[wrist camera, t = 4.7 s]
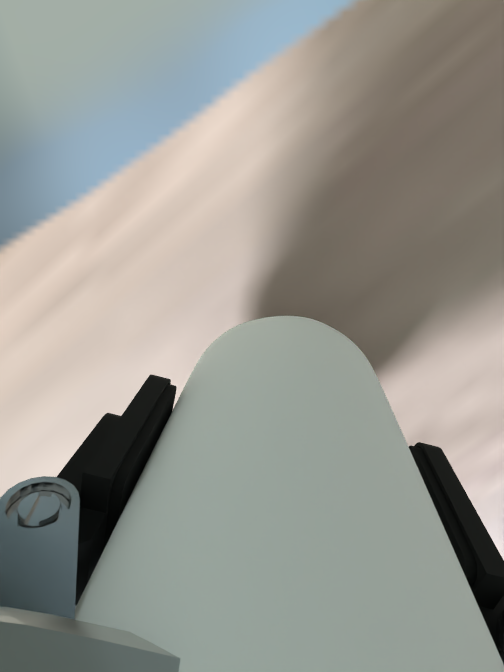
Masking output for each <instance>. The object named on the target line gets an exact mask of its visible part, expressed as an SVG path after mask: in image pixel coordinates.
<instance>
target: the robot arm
mask: <svg viewBox="0 0 504 672" xmlns="http://www.w3.org/2000/svg"><path fill="white" fill-rule="evenodd" d="M170 382H171V380H170V379H167V378H163V377H159V376H155V375H150V376H149V377H148V379H147V380H146V381H145V383H144V384H143V386H142V387H141V389H140V390H139V392H138V393H137V394H136V396H135V397H134V399H133V400H132V402H131V403H130V404H129V406H128V407H127V409H126V410H125V412H124V413H123V415H122V416H118V415H114V414H111V413H107V414H105V415H104V416H103V417H102V419H101V420H100V421H99V423H98V424H97V425H96V427H95V428H94V429H93V430H92V432H91V433H90V434H89V436H88V437H87V438H86V440H85V441H84V442H83V443H82V445H81V446H80V447H79V449H78V450H77V451H76V453H75V454H74V455H73V456H72V458H71V459H70V460H69V462H68V463H67V464H66V466H65V467H64V468H63V469H62V471H61V472H60V473H59V475H58V476H57V477H45V476H43V477H37V478H31V479H28V480H25V481H23V482H20V483H18V484H16V485H15V486H13V487H12V488H10V489H9V490H8V491H7V492H6V493H5V494H4V495H3V496H2V497H1V498H0V672H179V665H180V658H179V657H177V656H175V655H173V654H171V653H169V652H168V651H166V650H164V649H162V648H160V647H158V646H156V645H155V644H153V643H151V642H149V641H147V640H145V639H143V638H141V637H139V636H137V635H135V634H133V633H131V632H129V631H124V630H120V629H115V628H111V627H106V626H102V625H97V624H92V623H88V622H83V621H79V620H75V606H76V605H77V604H78V602H79V600H80V598H81V596H82V594H83V592H84V590H85V587H86V585H87V583H88V581H89V579H90V577H91V575H92V573H93V571H94V569H95V567H96V565H97V563H98V561H99V559H100V557H101V555H102V553H103V551H104V549H105V547H106V545H107V543H108V541H109V539H110V536H111V534H112V532H113V530H114V528H115V526H116V524H117V522H118V520H119V518H120V516H121V514H122V512H123V510H124V508H125V506H126V504H127V502H128V500H129V498H130V496H131V494H132V492H133V490H134V488H135V486H136V484H137V482H138V480H139V478H140V476H141V474H142V472H143V469H144V467H145V465H146V463H147V461H148V459H149V457H150V455H151V453H152V451H153V449H154V447H155V445H156V443H157V441H158V439H159V437H160V435H161V433H162V431H163V429H164V427H165V425H166V423H167V421H168V419H169V417H170V415H171V413H172V409H173V404H174V399H175V394H176V386H173V385H170ZM409 449H410V451H411V454H412V456H413V458H414V461H415V463H416V465H417V467H418V470H419V472H420V474H421V476H422V479H423V481H424V483H425V485H426V488H427V490H428V492H429V495H430V497H431V499H432V501H433V504H434V506H435V508H436V511H437V513H438V515H439V517H440V520H441V522H442V524H443V526H444V529H445V531H446V533H447V536H448V538H449V540H450V542H451V545H452V547H453V549H454V552H455V554H456V556H457V558H458V561H459V563H460V565H461V568H462V570H463V572H464V574H465V577H466V579H467V581H468V584H469V586H470V588H471V591H472V593H473V595H474V597H475V600H476V602H477V604H478V607H479V609H480V611H481V613H482V616H483V618H484V620H485V623H486V625H487V627H488V630H489V632H490V634H491V636H492V639H493V641H494V643H495V646H496V648H497V650H498V652H499V655H500V657H501V659H502V662H503V664H504V560H503V559H502V557H501V555H500V553H499V552H498V550H497V548H496V546H495V544H494V543H493V541H492V539H491V537H490V535H489V534H488V532H487V530H486V528H485V526H484V525H483V523H482V521H481V519H480V517H479V516H478V514H477V512H476V510H475V508H474V507H473V505H472V503H471V501H470V499H469V498H468V496H467V494H466V492H465V490H464V489H463V487H462V485H461V483H460V481H459V480H458V478H457V476H456V474H455V472H454V471H453V469H452V467H451V465H450V463H449V462H448V460H447V458H446V456H445V454H444V453H443V451H442V449H441V448H439V447H436V446H432V445H428V444H424V443H420V442H419V443H417V444H416V445H415V446H409Z"/></svg>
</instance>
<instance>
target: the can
mask: <svg viewBox="0 0 504 672" xmlns="http://www.w3.org/2000/svg"><path fill="white" fill-rule="evenodd" d="M75 620H79V621H83V622H88V623H92V624H97V625H102V626H106V627H111V628H115V629H120V630H124V631H129V632H131V633H133V634H135V635H137V636H139V637H141V638H143V639H145V640H147V641H149V642H151V643H153V644H155V645H156V646H158V647H160V648H162V649H164V650H166V651H168V652H169V653H171V654H173V655H175V656H177V657H179V658H180V665H179V672H504V664H503V662H502V659H501V657H500V655H499V652H498V650H497V648H496V646H495V643H494V641H493V639H492V636H491V634H490V632H489V630H488V627H487V625H486V623H485V620H484V618H483V616H482V613H481V611H480V609H479V607H478V604H477V602H476V600H475V597H474V595H473V593H472V591H471V588H470V586H469V584H468V581H467V579H466V577H465V574H464V572H463V570H462V568H461V565H460V563H459V561H458V558H457V556H456V554H455V552H454V549H453V547H452V545H451V542H450V540H449V538H448V536H447V533H446V531H445V529H444V526H443V524H442V522H441V520H440V517H439V515H438V513H437V511H436V508H435V506H434V504H433V501H432V499H431V497H430V495H429V492H428V490H427V488H426V485H425V483H424V481H423V479H422V476H421V474H420V472H419V470H418V467H417V465H416V463H415V461H414V458H413V456H412V454H411V451H410V449H409V447H408V445H407V442H406V440H405V438H404V436H403V433H402V431H401V429H400V427H399V424H398V422H397V420H396V418H395V415H394V413H393V411H392V409H391V406H390V404H389V402H388V400H387V398H386V395H385V393H384V391H383V389H382V387H381V384H380V382H379V380H378V378H377V376H376V374H375V372H374V370H373V368H372V366H371V364H370V363H369V361H368V359H367V358H366V356H365V355H364V354H363V352H362V351H361V350H360V349H359V348H358V347H357V346H356V345H355V344H354V343H353V342H352V341H351V340H350V339H349V338H347V337H346V336H345V335H343V334H342V333H340V332H339V331H337V330H336V329H334V328H332V327H330V326H328V325H326V324H324V323H322V322H319V321H317V320H314V319H310V318H306V317H300V316H273V317H266V318H260V319H256V320H252V321H248V322H245V323H243V324H240V325H238V326H236V327H234V328H232V329H230V330H228V331H227V332H225V333H224V334H222V335H221V336H220V337H219V338H217V339H216V340H215V341H214V342H213V343H212V344H211V345H210V346H209V347H208V348H207V349H206V351H205V352H204V353H203V355H202V356H201V358H200V359H199V361H198V363H197V364H196V366H195V368H194V370H193V372H192V373H191V375H190V377H189V379H188V381H187V383H186V385H185V387H184V389H183V391H182V393H181V395H180V397H179V399H178V401H177V403H176V405H175V407H174V409H173V411H172V413H171V415H170V417H169V419H168V421H167V423H166V425H165V427H164V429H163V431H162V433H161V435H160V437H159V439H158V441H157V443H156V445H155V447H154V449H153V451H152V453H151V455H150V457H149V459H148V461H147V463H146V465H145V467H144V469H143V472H142V474H141V476H140V478H139V480H138V482H137V484H136V486H135V488H134V490H133V492H132V494H131V496H130V498H129V500H128V502H127V504H126V506H125V508H124V510H123V512H122V514H121V516H120V518H119V520H118V522H117V524H116V526H115V528H114V530H113V532H112V534H111V536H110V539H109V541H108V543H107V545H106V547H105V549H104V551H103V553H102V555H101V557H100V559H99V561H98V563H97V565H96V567H95V569H94V571H93V573H92V575H91V577H90V579H89V581H88V583H87V585H86V587H85V590H84V592H83V594H82V596H81V598H80V600H79V602H78V604H77V606H76V608H75Z"/></svg>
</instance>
